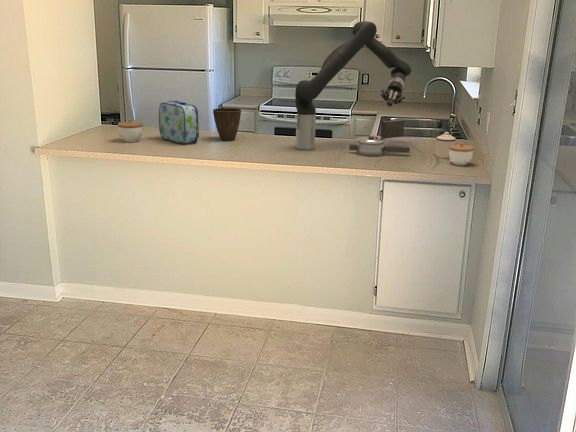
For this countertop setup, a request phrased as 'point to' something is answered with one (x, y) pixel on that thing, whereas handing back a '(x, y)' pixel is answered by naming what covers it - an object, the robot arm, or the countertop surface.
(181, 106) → the lunch box
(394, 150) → the pot
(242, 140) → the countertop surface
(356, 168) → the countertop surface
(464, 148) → the lidded jar
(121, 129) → the lidded bowl
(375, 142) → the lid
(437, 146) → the beige canister
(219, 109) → the plant pot
